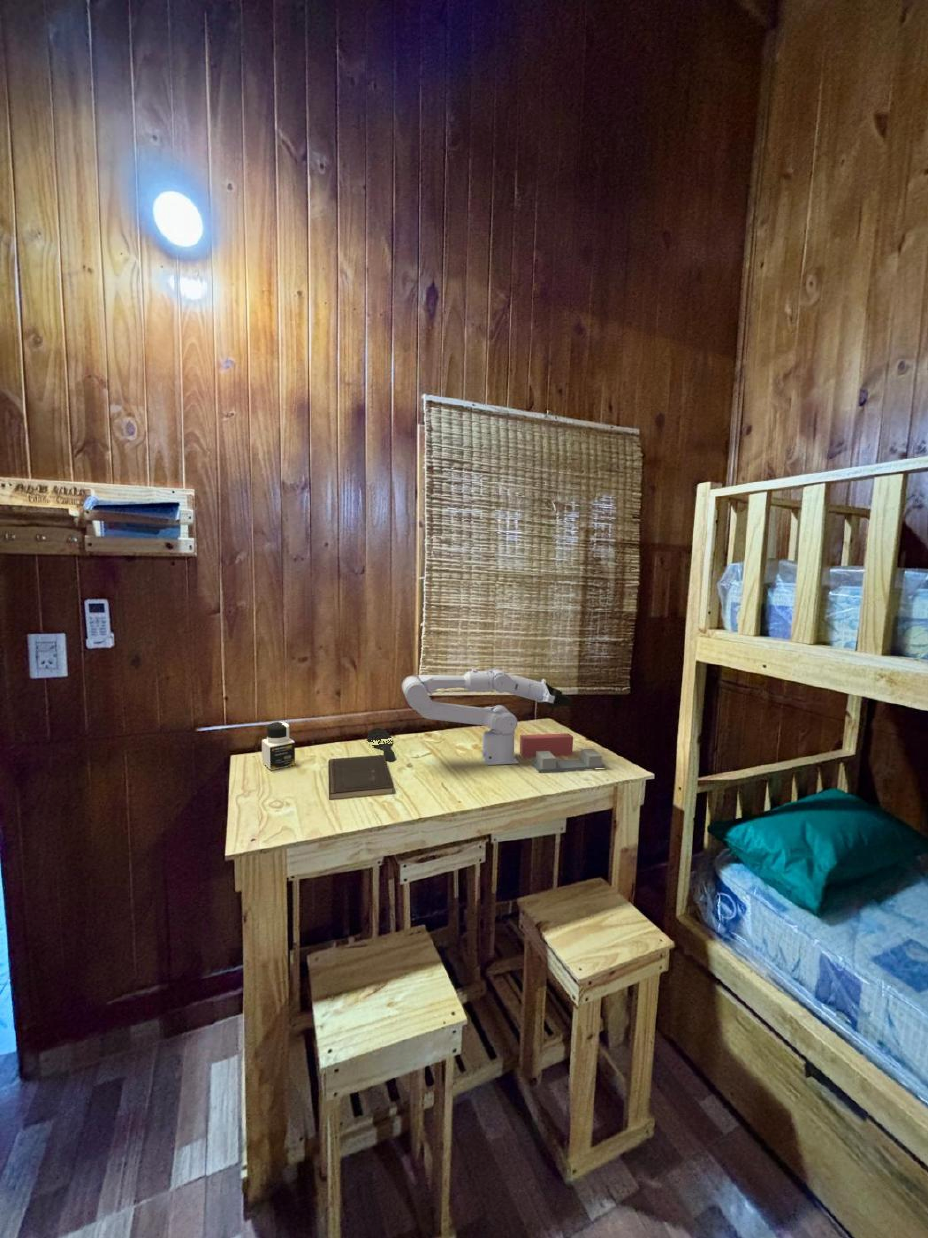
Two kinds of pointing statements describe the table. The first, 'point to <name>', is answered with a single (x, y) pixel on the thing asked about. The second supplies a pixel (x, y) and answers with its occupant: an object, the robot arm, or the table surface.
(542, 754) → the display rack
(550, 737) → the frame bar
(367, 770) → the hardcover book
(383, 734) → the hairbrush
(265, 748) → the medicine bottle
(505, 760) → the robot arm
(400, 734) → the table surface
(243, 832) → the table surface
